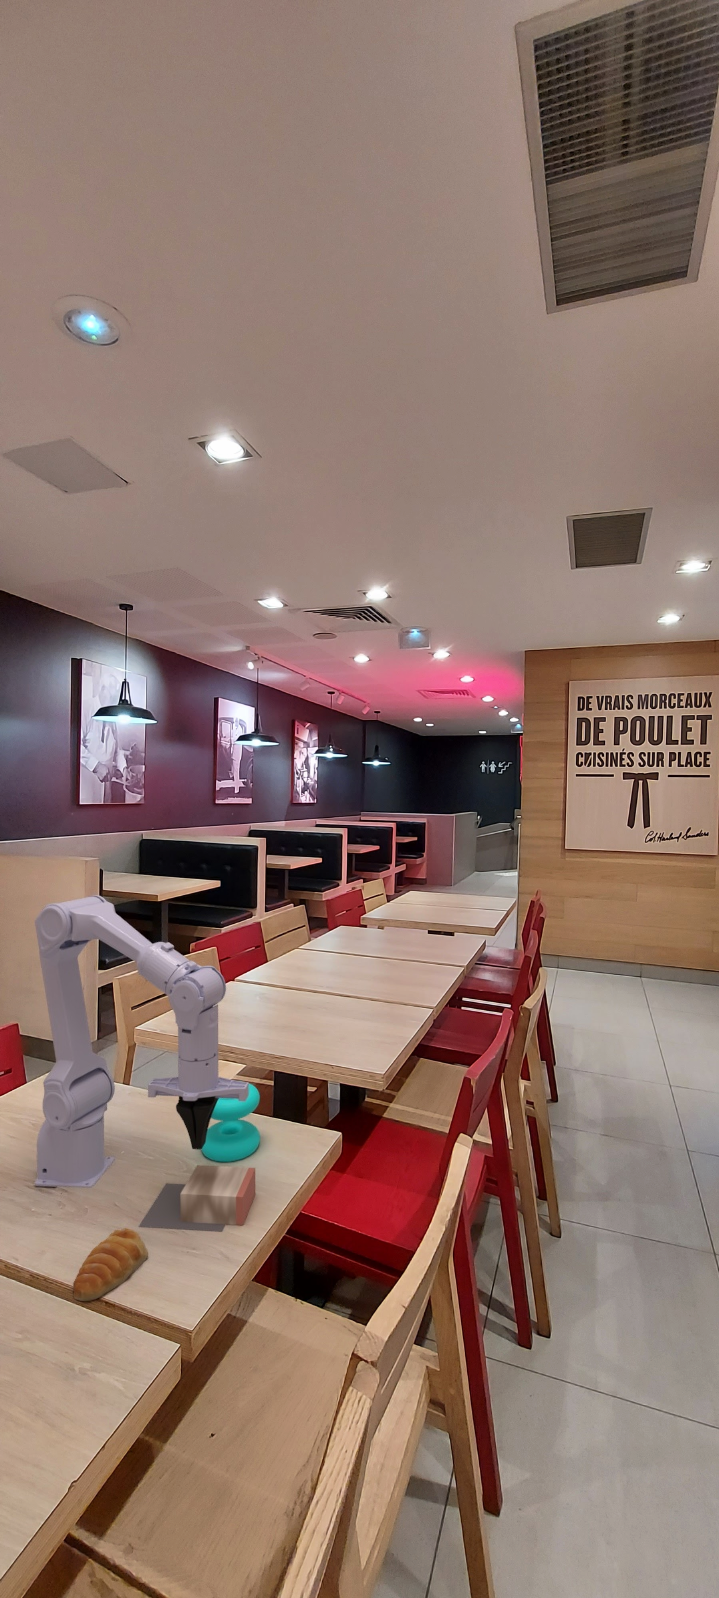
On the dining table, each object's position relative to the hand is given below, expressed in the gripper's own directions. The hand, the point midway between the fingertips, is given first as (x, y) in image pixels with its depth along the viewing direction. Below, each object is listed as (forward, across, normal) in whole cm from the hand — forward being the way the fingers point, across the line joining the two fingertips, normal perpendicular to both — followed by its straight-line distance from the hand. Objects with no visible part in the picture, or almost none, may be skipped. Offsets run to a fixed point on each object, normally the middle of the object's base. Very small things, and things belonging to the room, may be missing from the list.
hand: (198, 1145), depth 95 cm
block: (+7, -2, 0) cm, 7 cm away
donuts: (+10, 0, +16) cm, 19 cm away
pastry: (+10, -7, -13) cm, 18 cm away
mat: (+9, -1, 0) cm, 9 cm away
